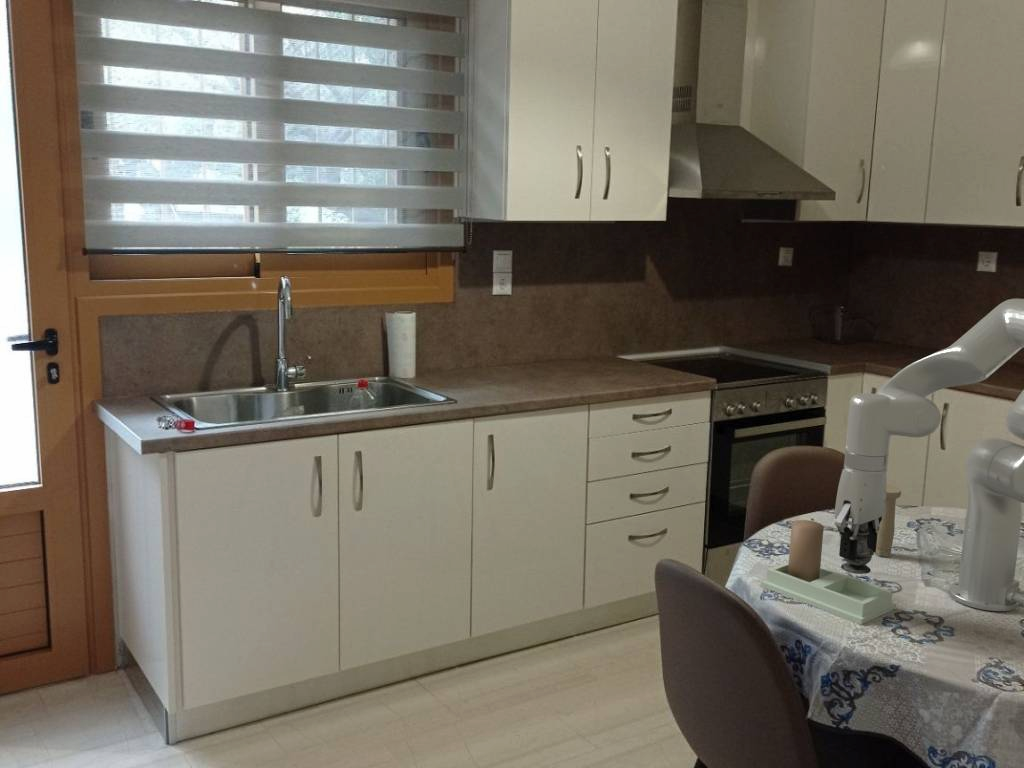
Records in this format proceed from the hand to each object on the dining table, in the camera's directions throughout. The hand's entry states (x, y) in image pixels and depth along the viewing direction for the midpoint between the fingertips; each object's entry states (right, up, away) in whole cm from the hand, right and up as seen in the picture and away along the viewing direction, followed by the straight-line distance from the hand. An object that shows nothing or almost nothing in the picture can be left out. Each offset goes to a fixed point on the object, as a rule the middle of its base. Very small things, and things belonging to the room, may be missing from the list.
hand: (857, 553), depth 186 cm
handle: (+16, -5, +30) cm, 34 cm away
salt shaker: (0, -3, +1) cm, 3 cm away
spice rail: (-4, -9, +6) cm, 12 cm away
